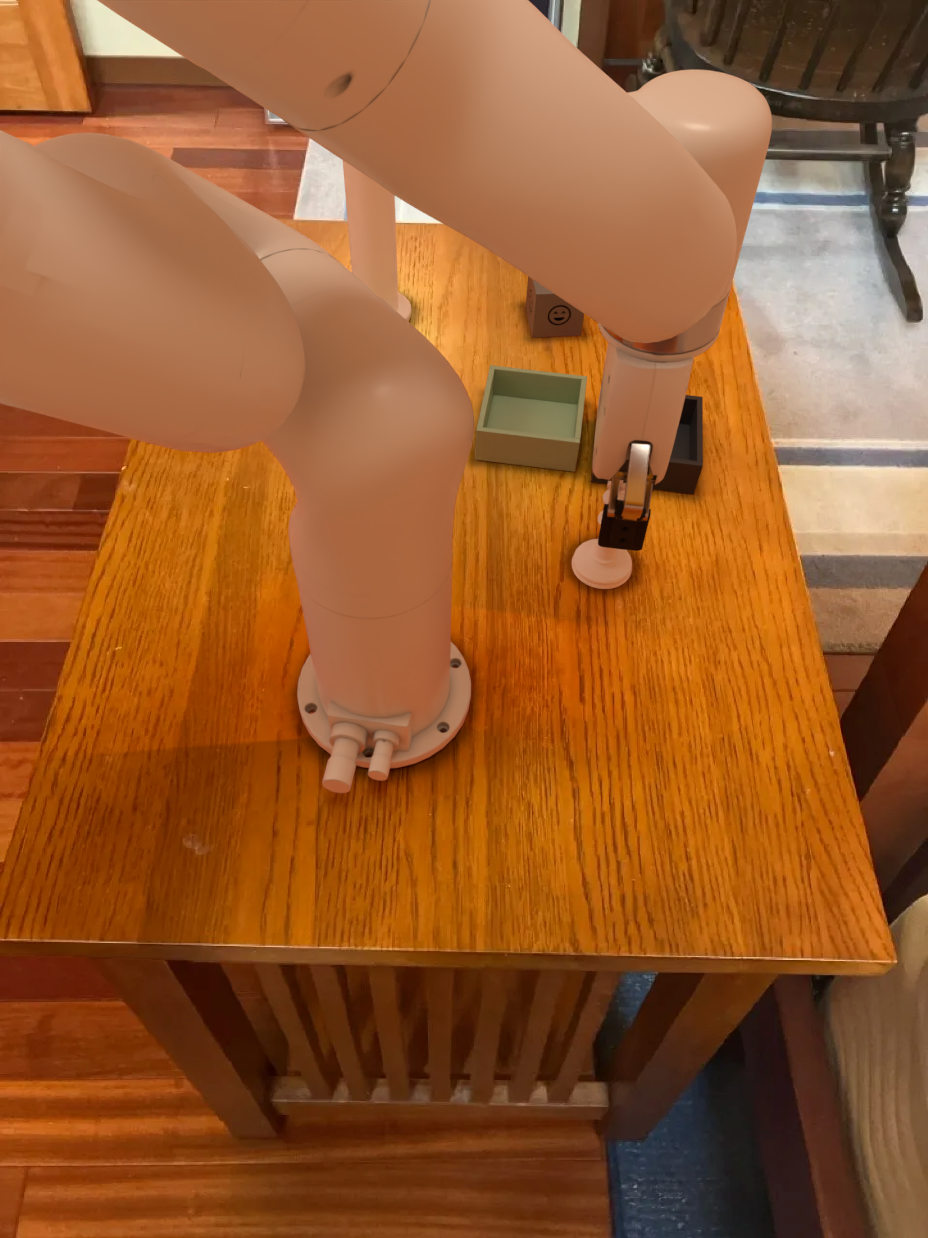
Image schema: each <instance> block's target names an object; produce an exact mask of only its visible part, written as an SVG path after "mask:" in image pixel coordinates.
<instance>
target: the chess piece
mask: <svg viewBox="0 0 928 1238" xmlns="http://www.w3.org/2000/svg"><path fill="white" fill-rule="evenodd" d="M606 485H607V486H606V490H605V491H604V492H603V495H602V503H603V505H604V504H608V503H609V496H610V488H611V481H608V484H606ZM625 487H626V483H623V480H620V484H619V492H618V499H617V500H623V498H624V494H625ZM602 514H603V510H602V511H600V512H599V514H598V516H597V522H598V524H599V525H600V526H601V520H602ZM628 551H629V550H623V549H615V548H606V547H601V546H599V545H598V538H591V539H589V540H586V541H584V542H582V543H581V544H580V545H578V547H577V548H576V549H575V551H574V553H573V556H572V558H571V570H572V572H573V574H574V576H576V578H577V579H578V580H579V581H580V582H581V583H583V584H584V585H586V586H588V587H591V588H595V589H600V590H610V589H615V588H618V587H620V586H622V585H624V584H625V583H626V582H627V581H628V580H629V578H630V577H631V575H632V571H633V560H632V557H631V554H630V553H629V552H628Z"/></svg>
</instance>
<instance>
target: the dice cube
mask: <svg viewBox="0 0 928 1238" xmlns="http://www.w3.org/2000/svg"><path fill="white" fill-rule="evenodd" d="M524 308H525V312H526V316H527V322H528V326H529V330H530V334H531V339H539V338H559V337H560V338H561V337H562V338H563V337H579V336H582V333H583V332H582V331H583V323H584V317H585V314H584V313H583V312H581V311H579V310H578V309H576V308H575V307H573V306H572V305H570V304H569V303H567V302H566V301H564V300H563V299H561V298H560V297H558V296H557V295H555V294H554V293H552V292H551V291H549V290H548V289H546V288H545V287H543V286H542V285H541V284H539V283H538V282H536V281H535V280H533V279H532V278H530V277H529V276H527V285H526V294H525V307H524Z"/></svg>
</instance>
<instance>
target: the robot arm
mask: <svg viewBox="0 0 928 1238" xmlns="http://www.w3.org/2000/svg"><path fill="white" fill-rule="evenodd" d="M96 1H97V2H99V3H101V4H102V5H103V6H105V7H106V8H108V9H109V10H110V11H112V12H113V13H115V14H116V15H118V16H119V17H121V18H123V19H124V20H126V21H127V22H129V23H130V24H132V25H133V26H135V27H136V28H138V29H140V30H141V31H142V32H143V33H146V34H147V35H149V36H150V37H152V38H154V39H155V40H157V41H158V42H160V43H162V45H164V46H166V47H168V48H169V49H171V50H172V51H174V52H175V53H177V54H178V55H180V56H181V57H183V58H185V59H186V60H188V61H189V62H191V63H192V64H194V65H196V66H197V67H199V68H201V69H204V70H205V71H206V72H208V73H210V74H211V75H212V76H214V77H216V78H217V79H219V80H220V81H222V82H224V83H225V84H227V85H228V86H230V87H231V88H233V89H235V90H236V91H238V92H239V93H241V94H242V95H243V96H245V97H247V98H248V99H250V100H252V101H253V102H255V103H256V104H258V105H259V106H261V107H262V108H264V109H265V110H267V111H268V112H270V113H272V114H273V115H274V116H276V117H278V118H279V119H281V120H282V121H283V122H284V123H286V124H287V125H289V126H290V127H291V128H294V129H295V130H297V131H298V132H299V133H301V134H302V135H304V136H306V137H307V138H309V139H310V140H312V141H313V142H315V143H316V144H318V145H319V146H321V147H322V148H323V149H325V150H327V151H328V152H329V153H331V154H333V155H334V156H336V157H337V158H339V159H340V160H342V162H343V161H345V162H347V163H348V164H350V165H351V166H353V167H354V168H356V169H357V170H359V171H360V172H362V173H363V174H365V175H366V176H368V177H369V178H371V179H372V180H374V181H375V182H377V183H378V184H379V185H381V186H382V187H383V188H385V189H386V190H387V191H389V192H390V193H392V194H393V195H395V198H398V199H400V201H403V202H405V203H406V204H408V205H409V206H410V207H412V208H414V209H416V210H418V211H419V212H422V214H425V215H427V216H428V217H430V218H432V219H434V220H435V221H437V222H439V223H441V224H443V225H445V226H447V227H448V228H449V229H452V230H454V231H456V232H457V233H459V234H460V235H462V236H464V237H466V238H468V239H469V240H471V241H473V242H474V243H476V244H478V245H479V246H481V247H483V248H484V249H486V250H487V251H488V252H490V253H492V254H494V255H495V256H497V257H498V258H500V259H502V260H503V261H504V262H506V263H508V264H509V265H511V266H512V267H514V268H515V269H517V270H518V271H519V272H521V273H523V274H524V275H526V277H528V276H529V277H530V278H532V279H533V280H535V281H536V282H538V283H539V284H541V285H542V286H543V287H545V288H546V289H548V290H549V291H551V292H552V293H554V294H555V295H557V296H558V297H560V298H561V299H563V300H564V301H566V302H567V303H569V304H570V305H572V306H573V307H575V308H576V309H578V310H579V311H581V312H583V313H584V315H586V316H587V317H588V318H590V319H592V320H594V321H595V322H596V323H597V327H598V330H599V331H600V333H601V335H602V337H603V338H604V340H605V341H607V347H606V353H605V359H604V366H603V371H602V372H603V373H602V379H601V385H600V386H601V387H600V390H599V396H598V403H597V412H596V422H595V431H594V442H593V451H592V452H593V453H592V466H591V467H592V468H591V471H592V470H593V473H594V475H595V476H596V477H597V478H598V479H607V480H610V479H611V478H612V481H611V488H610V496H609V503H608V504H604V503H603V508H602V509H603V510H602V511H603V514H602V520H601V525H600V527H599V531H598V536H597V539H598V545H599V546H601V547H606V548H615V549H623V550H627V551H633V552H639V551H642V550H643V547H644V543H645V538H646V534H647V530H648V526H649V522H650V519H651V515H652V514H651V513H652V512H651V508H650V507H651V502H652V501H651V499H652V493H653V489H652V487H653V481H654V484H657V483H659V482H660V481H661V480H662V479H663V478H664V476H665V473H666V470H667V467H668V463H669V460H670V456H671V453H672V449H673V445H674V441H675V437H676V433H677V429H678V425H679V421H680V417H681V413H682V409H683V405H684V400H685V396H686V395H687V391H688V389H689V382H690V378H691V374H692V370H693V365H694V362H695V361H694V359H695V357H698V356H700V355H702V354H703V353H705V352H707V351H709V349H711V348H712V347H713V346H714V344H715V343H716V341H717V340H718V338H719V335H720V330H721V326H722V324H723V318H724V315H725V312H726V308H727V304H728V299H729V296H730V292H731V290H732V289H731V288H732V285H733V282H734V278H735V274H736V270H737V266H738V262H739V258H740V254H741V251H742V248H743V244H744V240H745V236H746V232H747V228H748V225H749V221H750V217H751V214H752V209H753V207H754V204H755V203H754V202H755V199H756V195H757V191H758V187H759V183H760V180H761V176H762V172H763V168H764V165H765V162H766V157H767V154H768V150H769V145H770V141H771V137H772V131H773V117H772V116H773V115H772V111H771V107H770V105H769V103H768V101H767V99H766V97H765V96H764V95H763V93H761V92H760V90H759V89H757V88H756V87H755V86H754V85H753V84H751V83H750V82H748V81H746V80H744V79H742V78H740V77H738V76H736V75H732V74H729V73H725V72H721V71H717V70H716V71H715V70H711V69H710V70H709V69H680V70H674V71H670V72H667V73H663V74H661V75H658V76H656V77H654V78H652V79H651V80H649V81H648V82H646V83H644V84H643V85H642V86H641V87H640V88H639V89H637V90H633V91H629V92H627V91H625V90H624V89H623V88H622V87H621V86H620V84H618V83H616V82H615V81H614V80H613V79H612V78H611V77H610V76H609V75H607V74H606V73H605V72H604V71H603V70H602V69H601V68H600V67H599V66H598V65H596V64H595V63H594V62H593V61H592V60H591V59H590V58H588V56H587V55H585V54H584V53H583V52H582V51H581V50H580V49H579V48H577V46H576V45H574V43H572V41H571V40H570V39H568V38H567V37H566V36H565V35H564V34H563V32H561V31H560V30H559V29H558V27H556V26H555V25H554V23H552V21H550V19H548V18H547V17H546V16H545V14H543V13H542V11H540V10H539V9H538V8H537V7H536V5H534V4H533V3H532V2H531V1H530V0H96ZM471 400H472V399H471V398H470V395H469V392H468V390H467V388H466V386H465V385H464V383H463V381H462V379H461V378H460V376H459V374H458V373H457V371H456V370H455V369H454V367H453V366H452V365H451V363H450V362H449V360H448V359H446V357H445V355H443V354H442V352H441V351H440V350H439V348H437V347H436V346H435V345H434V344H433V343H432V342H431V341H430V340H429V339H428V338H427V337H426V336H425V335H424V334H423V333H422V332H420V330H418V329H417V327H415V326H414V325H413V324H411V322H409V321H407V320H406V319H405V318H404V317H402V316H401V315H400V314H399V313H398V312H397V311H396V310H395V309H393V308H392V307H391V306H390V305H389V304H388V303H387V302H386V301H385V300H383V299H382V298H381V297H379V296H377V295H376V294H375V293H374V292H373V291H372V290H371V289H370V288H368V287H367V286H366V285H365V284H364V283H363V282H362V281H361V280H359V279H358V278H357V277H356V276H355V275H354V274H353V273H352V271H350V269H348V268H347V267H346V266H345V265H344V264H343V263H341V262H340V261H339V260H338V259H337V258H335V257H334V255H332V254H331V253H330V252H328V251H327V250H326V249H325V248H324V247H323V246H321V245H320V244H318V243H317V242H315V241H314V240H312V239H310V238H309V237H308V236H306V235H304V234H303V233H301V232H299V231H298V230H296V229H295V228H293V227H291V226H289V225H287V224H286V223H284V222H282V221H281V220H279V219H277V218H275V217H274V216H272V215H270V214H268V213H267V212H265V211H263V210H261V209H260V208H257V207H256V206H254V205H253V204H251V203H249V202H247V201H246V200H243V199H242V198H240V197H238V196H236V195H235V194H233V193H231V192H230V191H227V190H226V189H224V188H222V187H220V185H217V184H215V183H213V182H212V181H209V180H208V179H206V178H205V177H203V176H201V175H199V174H197V173H196V172H194V171H193V170H191V169H189V168H187V167H185V166H184V165H181V164H180V163H178V162H177V161H176V160H175V161H174V160H173V159H171V158H169V157H167V156H166V155H164V154H163V153H160V152H158V151H157V150H155V149H153V148H151V147H148V146H146V145H144V144H141V143H139V142H136V141H134V140H131V139H128V138H125V137H121V136H117V135H112V134H107V133H99V132H78V133H75V132H74V133H68V134H62V135H58V136H55V137H51V138H48V139H46V140H44V141H41V142H39V143H37V144H35V145H33V144H31V143H29V142H27V141H25V140H22V139H21V138H18V137H16V136H14V135H12V134H10V133H8V132H6V131H4V130H2V129H0V405H1V404H2V405H4V406H8V407H13V408H16V409H20V410H24V411H28V412H31V413H35V414H39V415H44V416H46V417H50V418H54V419H57V420H61V421H65V422H69V423H72V424H77V425H80V426H83V427H88V428H91V429H96V430H99V431H102V432H105V433H110V434H114V435H117V436H121V437H124V438H128V439H131V440H135V441H138V442H142V443H146V444H150V445H154V446H158V447H162V448H167V449H169V450H170V449H171V450H175V451H180V452H188V453H189V452H191V453H192V452H193V453H209V454H211V453H212V454H213V453H214V454H215V453H225V452H231V451H237V450H241V449H244V448H247V447H251V446H253V445H256V444H257V443H260V442H262V443H263V445H264V446H265V447H266V448H267V449H268V450H269V452H271V454H272V455H273V456H274V457H275V459H276V461H278V463H279V464H280V466H281V467H282V469H283V471H284V472H285V474H286V476H287V478H288V480H289V482H290V483H291V486H292V488H293V491H294V493H295V497H296V503H295V504H294V506H293V508H292V511H291V513H290V517H289V519H288V520H289V521H288V541H289V549H290V554H291V561H292V566H293V567H292V568H293V571H294V575H295V578H296V584H297V588H298V593H299V599H300V604H301V610H302V615H303V619H304V624H305V625H304V626H305V629H306V635H307V640H308V646H309V651H310V653H309V655H308V656H307V658H306V660H305V662H304V664H303V665H302V667H301V671H300V674H299V676H298V680H297V691H296V696H297V703H298V709H299V713H300V716H301V720H302V723H303V724H304V726H305V728H306V730H307V732H308V735H310V737H311V738H312V739H313V741H315V743H316V744H317V745H318V746H319V747H320V748H322V749H323V750H324V751H326V753H328V754H329V755H330V757H329V758H328V759H327V763H326V767H325V770H324V773H323V777H322V781H321V784H322V786H323V788H324V789H325V790H327V791H329V792H332V793H337V794H346V793H349V792H351V788H352V785H353V781H354V777H355V773H356V768H357V767H360V768H365V769H368V770H367V776H368V777H369V778H370V779H372V780H375V781H379V782H380V781H382V782H385V781H386V780H388V779H389V774H390V770H391V769H398V768H402V767H407V766H412V765H414V764H415V765H416V764H417V763H420V762H421V761H424V760H426V759H429V758H431V757H432V756H433V755H435V754H437V753H438V752H440V751H441V750H443V749H444V748H446V746H447V745H448V744H449V743H450V742H452V740H453V739H454V738H455V737H456V736H457V734H458V732H459V731H460V730H461V728H462V727H463V725H464V723H465V721H466V719H467V716H468V714H469V711H470V705H471V699H472V680H471V674H470V669H469V667H468V664H467V662H466V660H465V657H464V656H463V654H462V653H461V651H460V650H459V649H458V647H457V645H456V644H455V643H453V642H452V603H453V602H452V599H453V595H452V594H453V542H454V540H453V539H454V521H455V512H456V504H457V499H458V493H459V489H460V486H461V482H462V479H463V475H464V472H465V470H466V467H467V463H468V461H469V460H468V459H469V456H470V453H471V449H472V446H473V442H474V437H475V436H474V435H475V414H474V413H475V412H474V408H473V403H472V401H471ZM626 460H628V469H627V471H626V470H619V469H620V468H621V467H622V466H623V464H624V463H625V461H626ZM648 462H649V467H648ZM647 471H648V473H647ZM620 480H624V481H626V487H625V494H624V498H623V500H617V499H618V492H619V484H620Z"/></svg>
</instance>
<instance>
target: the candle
mask: <svg viewBox="0 0 928 1238" xmlns="http://www.w3.org/2000/svg"><path fill="white" fill-rule="evenodd" d="M342 169H343V181H344V193H345V207H346V216H347V217H346V218H347V228H348V229H347V231H348V243H349V244H348V246H349V256H350V267H351V268H350V269H351V272H352V273H353V274H354V275H355V276H356V277H357V278H358V279H359V280H361V281H362V282H363V283H364V284H365V285H366V286H367V287H368V288H370V289H371V290H372V291H373V292H374V293H375V294H376V295H377V296H379V297H381V298H382V299H383V300H385V301H386V302H387V303H388V304H389V305H390V306H391V307H392V308H393V309H395V310H396V311H397V312H398V313H399V314H400V315H401V316H402V317H404V318H405V319H406V320H407V321H408V322H409V321H410V319H411V317H412V305H411V302H410V301H409V299H408V298H407V297H406V296H405V295H404V294H402V293H401V292H399V277H398V276H399V275H398V252H397V250H398V248H397V247H398V246H397V223H396V196H395V195H393V194H392V193H390V192H389V191H387V190H386V189H385V188H383V187H382V186H381V185H379V184H378V183H377V182H375V181H374V180H372V179H371V178H369V177H368V176H366V175H365V174H363V173H362V172H360V171H359V170H357V169H356V168H354V167H353V166H351V165H350V164H348V163H347V162H345V161H343V160H342Z"/></svg>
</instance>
